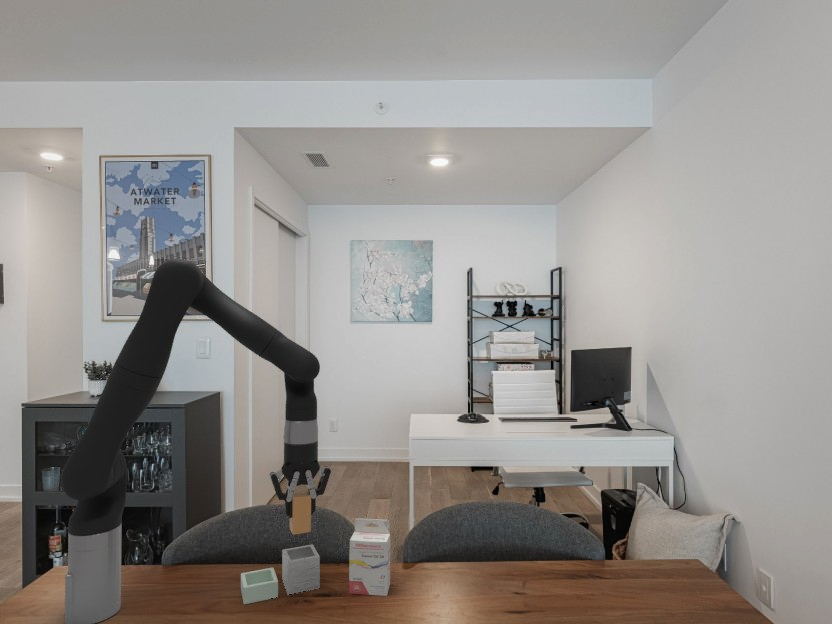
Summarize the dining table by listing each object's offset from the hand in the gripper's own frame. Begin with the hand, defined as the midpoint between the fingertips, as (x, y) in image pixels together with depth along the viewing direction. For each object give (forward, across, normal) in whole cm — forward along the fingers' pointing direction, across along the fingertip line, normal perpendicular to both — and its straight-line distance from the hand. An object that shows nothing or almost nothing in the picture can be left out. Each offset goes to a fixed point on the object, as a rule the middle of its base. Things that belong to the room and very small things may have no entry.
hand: (300, 515), depth 117 cm
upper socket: (+15, 0, 0) cm, 15 cm away
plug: (+3, 0, 0) cm, 3 cm away
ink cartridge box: (+16, +14, -9) cm, 22 cm away
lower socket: (+15, -9, 0) cm, 18 cm away
